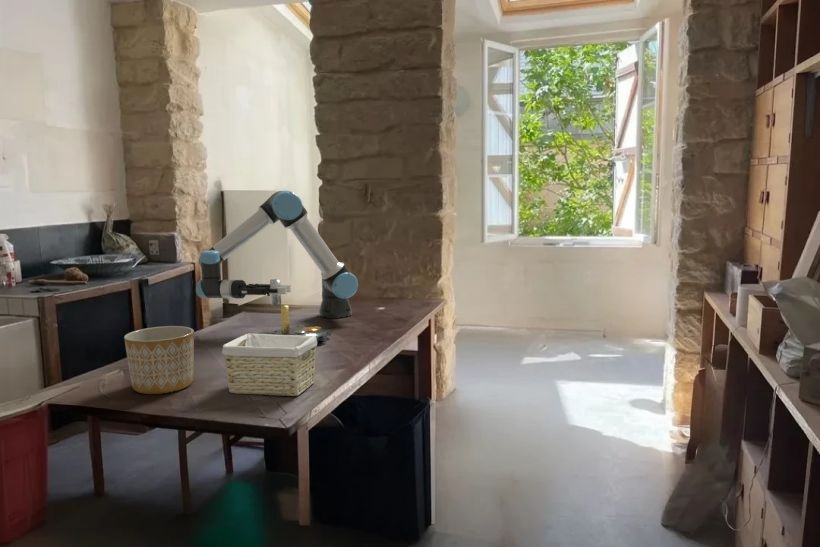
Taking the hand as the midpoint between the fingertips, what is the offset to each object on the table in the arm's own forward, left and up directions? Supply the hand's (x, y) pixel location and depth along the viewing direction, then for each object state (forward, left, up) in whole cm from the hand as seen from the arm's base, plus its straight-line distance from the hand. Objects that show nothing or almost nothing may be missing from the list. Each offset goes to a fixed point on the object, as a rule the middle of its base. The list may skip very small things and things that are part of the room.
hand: (288, 289), depth 248 cm
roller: (+5, -3, -6) cm, 8 cm away
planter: (+44, +53, -19) cm, 71 cm away
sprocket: (-3, +11, -17) cm, 21 cm away
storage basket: (+13, +66, -19) cm, 70 cm away
